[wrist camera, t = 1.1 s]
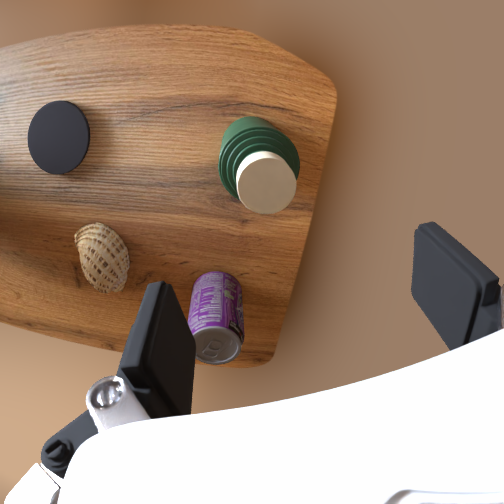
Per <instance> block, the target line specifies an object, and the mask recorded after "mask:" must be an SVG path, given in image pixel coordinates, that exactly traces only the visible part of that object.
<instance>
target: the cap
mask: <svg viewBox="0 0 504 504" xmlns="http://www.w3.org/2000/svg"><path fill="white" fill-rule="evenodd" d="M236 178H237V191H238V195H239V198H240V200H241V201H242V203H243V204H244V205H245V206H246V207H247V208H248V209H250V210H252V211H254V212H256V213H260V214H272V213H276V212H278V211H280V210H282V209H284V208H285V207H286V206H287V205H288V204H289V203H290V202H291V201H292V199H293V197H294V195H295V192H296V178H295V175H294V173H293V171H292V170H291V168H290V167H289V166H288V164H287V163H286V162H285V160H284V159H283V158H281V157H280V156H279V155H277V154H275V153H272V152H266V151H262V152H256V153H253V154H251V155H250V156H248V157H247V158H245V159H244V160H243V161H242V163H241V164H240V166H239V168H238V171H237V177H236Z"/></svg>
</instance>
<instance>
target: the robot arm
mask: <svg viewBox="0 0 504 504" xmlns="http://www.w3.org/2000/svg"><path fill="white" fill-rule="evenodd" d="M498 282H499V278H498V277H497V276H496V275H495V274H494V273H493V272H492V271H491V270H490V269H489V268H488V267H487V266H486V265H484V264H483V263H482V262H481V261H480V260H479V259H478V258H477V257H476V256H474V255H473V254H472V253H471V252H470V251H469V250H468V249H466V248H465V247H464V246H463V245H462V244H461V243H459V242H458V241H457V240H456V239H455V238H453V237H452V236H451V235H450V234H449V233H447V232H446V231H445V230H444V229H443V228H441V227H440V226H439V225H437V224H436V223H435V222H429V223H424V224H420V225H419V226H418V229H416V230H415V235H414V258H413V275H412V286H411V292H412V296H413V298H414V300H415V301H416V302H417V304H418V305H419V306H420V308H421V309H422V311H423V312H424V313H425V315H426V316H427V318H428V319H429V320H430V322H431V323H432V325H433V326H434V328H435V329H436V330H437V332H438V333H439V335H440V336H441V338H442V339H443V341H444V342H445V344H446V345H447V347H448V348H449V349H450V351H449V352H447V353H444V354H441V355H439V356H436V357H434V358H431V359H428V360H425V361H422V362H420V363H417V364H414V365H411V366H408V367H405V368H402V369H399V370H396V371H393V372H390V373H387V374H383V375H380V376H377V377H374V378H371V379H367V380H364V381H360V382H356V383H353V384H349V385H345V386H342V387H338V388H334V389H330V390H326V391H322V392H318V393H313V394H309V395H305V396H301V397H296V398H291V399H286V400H281V401H276V402H271V403H266V404H260V405H254V406H249V407H242V408H236V409H230V410H222V411H215V412H209V413H201V414H192V415H191V404H192V392H193V379H194V367H195V356H196V342H195V339H194V337H193V334H192V332H191V330H190V327H189V325H188V323H187V321H186V318H185V316H184V314H183V311H182V309H181V307H180V304H179V302H178V299H177V297H176V295H175V292H174V290H173V287H172V285H171V284H166V283H165V281H160V282H155V283H150V284H148V286H147V288H146V291H145V294H144V297H143V300H142V303H141V305H140V308H139V311H138V314H137V317H136V320H135V323H134V324H133V325H132V327H131V330H130V333H129V336H128V339H127V342H126V345H125V349H124V352H123V355H122V358H121V361H120V365H119V368H118V371H117V375H116V376H108V377H104V378H102V379H100V380H99V381H97V382H96V383H95V384H93V386H92V387H91V388H90V389H89V391H88V393H87V397H86V404H87V407H88V410H87V411H85V412H84V413H83V414H81V415H80V416H79V417H77V418H76V419H75V420H73V421H72V422H71V423H69V424H68V425H67V426H66V427H64V428H63V429H61V430H60V431H59V432H58V433H56V434H55V435H54V436H52V437H51V438H50V439H49V440H48V441H47V442H46V443H45V444H44V446H43V449H42V452H41V460H42V463H41V464H40V465H39V464H37V463H36V464H35V465H34V466H33V467H32V468H31V469H30V470H29V471H28V473H27V474H26V475H25V476H24V477H23V478H22V480H21V481H20V482H19V483H18V484H17V485H16V487H15V488H14V489H13V490H12V491H11V492H10V493H9V495H8V496H7V498H6V500H5V504H504V284H503V286H502V287H501V286H500V285H499V284H498Z"/></svg>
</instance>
